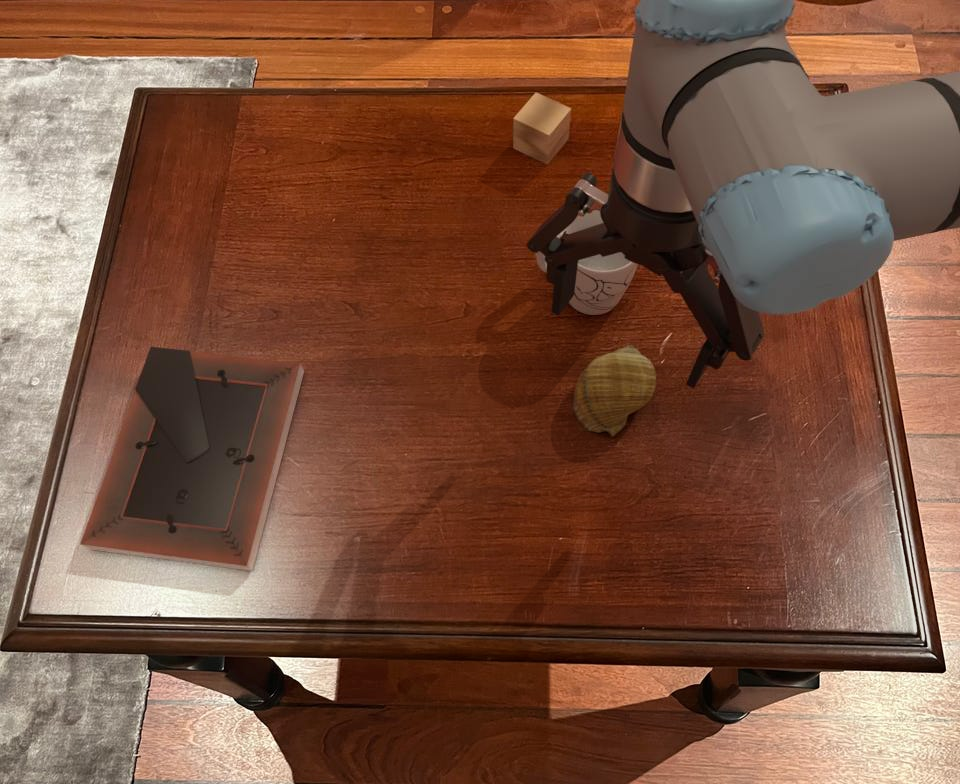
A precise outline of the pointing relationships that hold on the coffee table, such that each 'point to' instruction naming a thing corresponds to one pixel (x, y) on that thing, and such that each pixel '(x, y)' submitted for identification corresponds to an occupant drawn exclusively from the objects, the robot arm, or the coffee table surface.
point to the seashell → (613, 389)
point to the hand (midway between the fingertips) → (628, 338)
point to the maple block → (541, 128)
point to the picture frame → (196, 459)
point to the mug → (596, 274)
